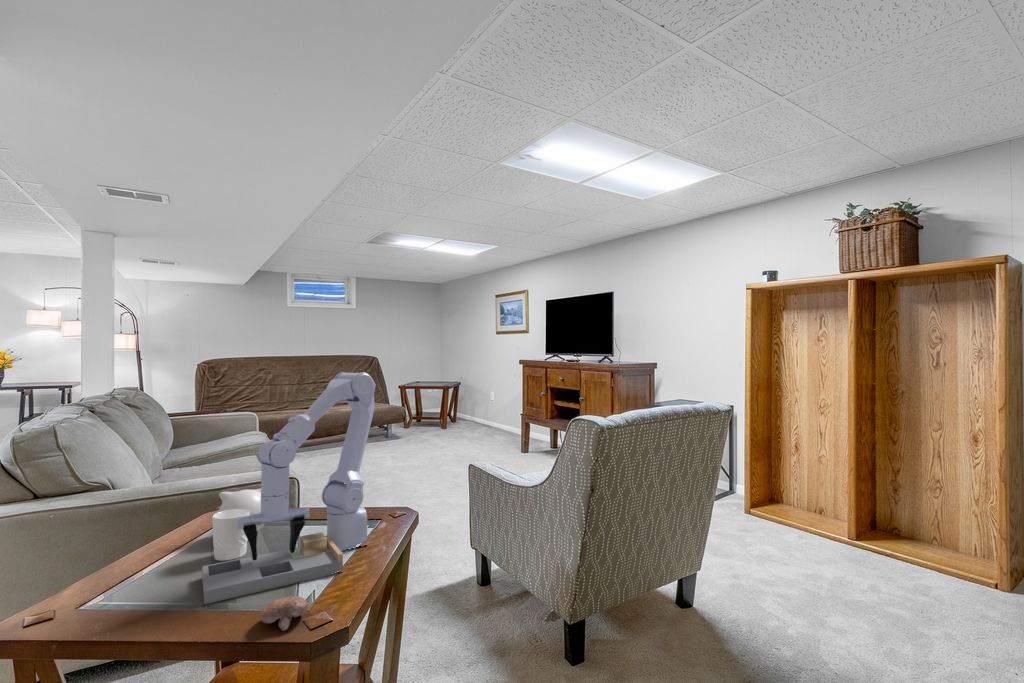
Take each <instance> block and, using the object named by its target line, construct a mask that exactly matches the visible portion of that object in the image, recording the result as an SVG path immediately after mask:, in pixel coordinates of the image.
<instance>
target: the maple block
mask: <svg viewBox="0 0 1024 683" xmlns="http://www.w3.org/2000/svg"><path fill="white" fill-rule="evenodd" d="M325 536H326V535H325V534H324V533H323V532H317V533H316V532H315V533H311V534H306V535H301V536H300V535H299V547H300V551H301V552H302V554H303V556H308V555H312V554H317V553H322V552H327V538H326V537H325Z"/></svg>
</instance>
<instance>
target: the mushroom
mask: <svg viewBox="0 0 1024 683" xmlns="http://www.w3.org/2000/svg"><path fill="white" fill-rule="evenodd" d="M308 607H309V605H308V601H307V600H306V599H305V598H304V597H301V596H299V595H297V596H296V595H292V596H283V597H281V598H277V599H274V600H272V601H270V602H268V603H267V604H265V605H264V606H263V607H262V609H261V610H260V612H259V619H260V620H261V622H262V623H263V624H272V623H274V622H276V621H277V620H278V627H279V629H280V630H281V631H286V630H288V629H289V626H290V625H291V622H292V618H297V617H300V616H301V615H303V614H305V613H306V612H307V611H308Z"/></svg>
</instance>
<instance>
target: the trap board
mask: <svg viewBox="0 0 1024 683" xmlns="http://www.w3.org/2000/svg"><path fill="white" fill-rule="evenodd" d="M325 537H326V538H327V552H322V553H317V554H312V555H308V556H303V554H302V552H301V551H300V546H299V547H295V552H294V553H291V552H290V548H289V549H284V550H283V549H282V550H279V551H272V552H268V553H263V554H257V560H253V559H252V556H248V557H243V558H236V559H233V560H227V561H222V562H217V563H213V564H207V565H202V568H201V570H202V573H201V574H202V575H201V578H202V579H201V580H202V591H203V592H202V593H203V603H204V604H203V605H207V604H211V603H216V602H221V601H225V600H228V599H233V598H238V597H242V596H246V595H250V594H253V593H258V592H259V593H260V592H263V591H264V592H265V591H267V590H272V589H276V588H279V587H284V586H289V585H293V584H296V583H301V582H306V581H310V580H314V579H319V578H323V577H324V578H325V577H327V576H332V575H333V574H332V573H335V572H337V571H339V570H342V569H343V565H344V554H343V551H340V550H339V548H338V547H337V546H336V545H335V544H334V542H333V541H332V540H331V539H330V538H329V536H328V535H327V534H326V535H325ZM331 574H332V575H331Z"/></svg>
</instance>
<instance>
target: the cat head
mask: <svg viewBox="0 0 1024 683" xmlns="http://www.w3.org/2000/svg"><path fill="white" fill-rule="evenodd" d="M218 497H220V498H219V499H220V500H221V502H222V503H221V505H220V506H219V507H216V510H217V509H219V510H217V512H222V511H226V510H232V509H247V510H249V511H250V515H254V514H258V513H260V511H261V487H260V488H256V489H247V488H246V489H242V490H237V491H221V492H219V495H218ZM265 525H266V524H262V525H256V527H257V529H256V530H257V533H258V532H259V531H260V530H261V529H263V528H264V526H265Z"/></svg>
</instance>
